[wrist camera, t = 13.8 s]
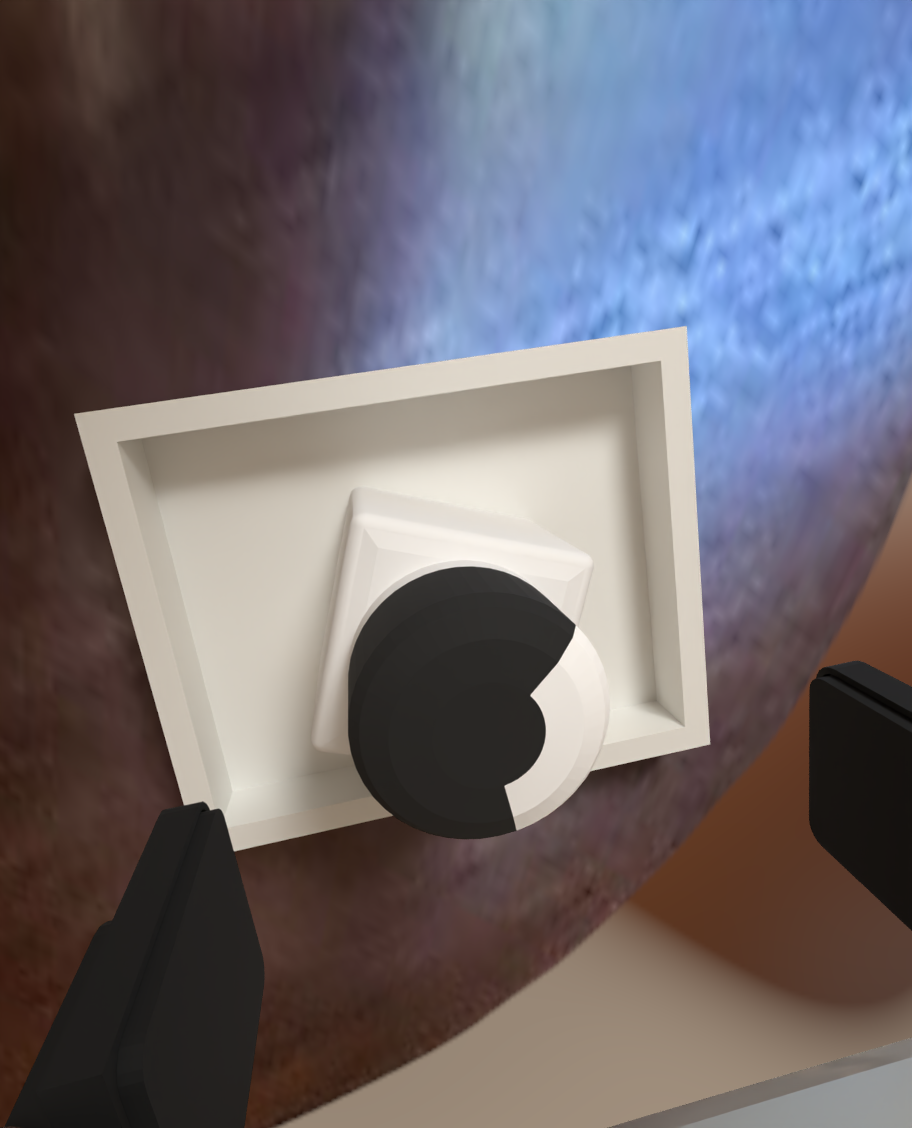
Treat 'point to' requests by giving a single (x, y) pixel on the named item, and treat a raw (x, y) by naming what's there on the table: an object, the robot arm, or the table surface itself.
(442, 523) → the medicine bottle
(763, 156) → the table surface
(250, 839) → the tray
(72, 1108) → the robot arm
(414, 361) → the table surface
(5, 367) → the table surface
